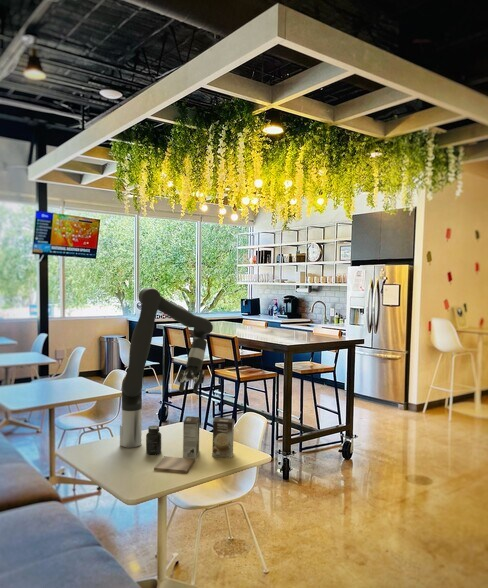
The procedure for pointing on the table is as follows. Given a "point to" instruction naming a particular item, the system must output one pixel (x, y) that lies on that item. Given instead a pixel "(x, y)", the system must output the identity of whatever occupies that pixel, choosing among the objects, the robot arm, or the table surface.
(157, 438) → the supplement bottle
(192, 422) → the coffee box
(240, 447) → the table surface
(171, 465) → the brown tray
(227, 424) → the coffee box
